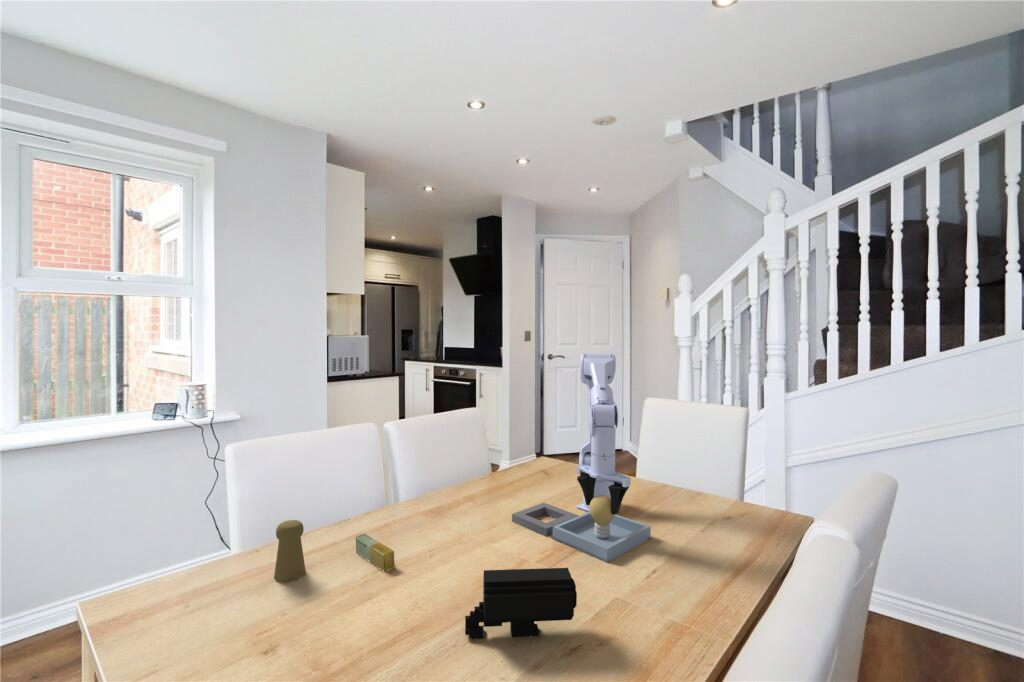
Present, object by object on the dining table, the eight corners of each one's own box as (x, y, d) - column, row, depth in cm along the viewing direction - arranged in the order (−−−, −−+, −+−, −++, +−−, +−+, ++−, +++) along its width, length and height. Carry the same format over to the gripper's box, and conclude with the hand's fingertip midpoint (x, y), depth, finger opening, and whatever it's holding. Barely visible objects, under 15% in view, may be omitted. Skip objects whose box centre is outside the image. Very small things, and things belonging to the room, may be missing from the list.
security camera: (465, 622, 86) (465, 566, 85) (569, 618, 87) (570, 563, 87) (464, 648, 79) (465, 587, 79) (577, 643, 80) (578, 583, 80)
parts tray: (597, 519, 132) (597, 508, 132) (650, 538, 120) (650, 526, 120) (552, 538, 119) (552, 526, 119) (606, 562, 108) (607, 549, 108)
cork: (312, 570, 103) (312, 518, 103) (290, 584, 97) (290, 530, 97) (289, 565, 105) (289, 514, 105) (266, 579, 99) (266, 525, 99)
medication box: (355, 553, 111) (354, 536, 111) (366, 549, 113) (365, 532, 113) (384, 573, 103) (384, 554, 103) (395, 568, 105) (395, 549, 105)
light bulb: (615, 532, 122) (616, 493, 122) (614, 543, 116) (615, 502, 115) (590, 529, 124) (590, 490, 123) (587, 540, 117) (588, 499, 117)
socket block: (543, 509, 138) (543, 502, 138) (578, 522, 129) (578, 515, 129) (511, 521, 130) (512, 514, 130) (546, 536, 121) (546, 528, 121)
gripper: (569, 450, 122) (568, 504, 122) (618, 463, 111) (617, 522, 112) (587, 445, 126) (586, 497, 127) (636, 457, 116) (634, 514, 116)
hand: (602, 508), depth 120 cm, fingers open, 7 cm apart
